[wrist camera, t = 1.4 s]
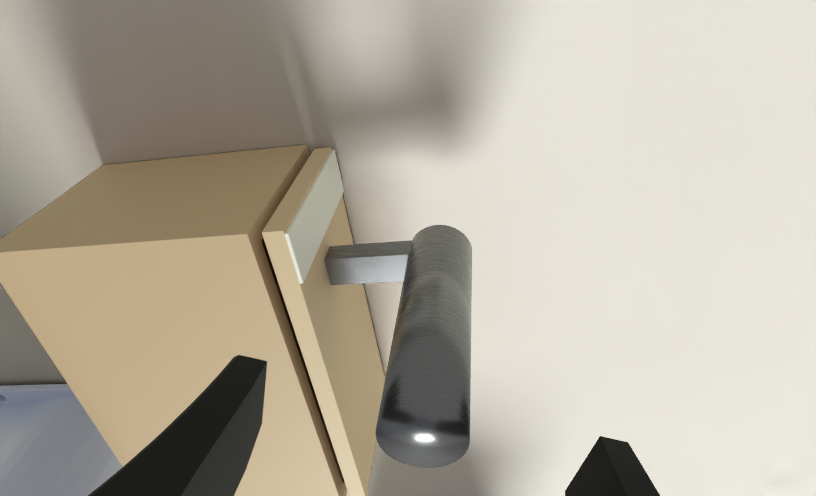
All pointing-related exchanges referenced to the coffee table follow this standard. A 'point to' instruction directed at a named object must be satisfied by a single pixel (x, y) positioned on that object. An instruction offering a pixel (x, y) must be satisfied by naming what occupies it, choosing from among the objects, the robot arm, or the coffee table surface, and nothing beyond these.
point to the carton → (173, 304)
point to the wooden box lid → (354, 335)
